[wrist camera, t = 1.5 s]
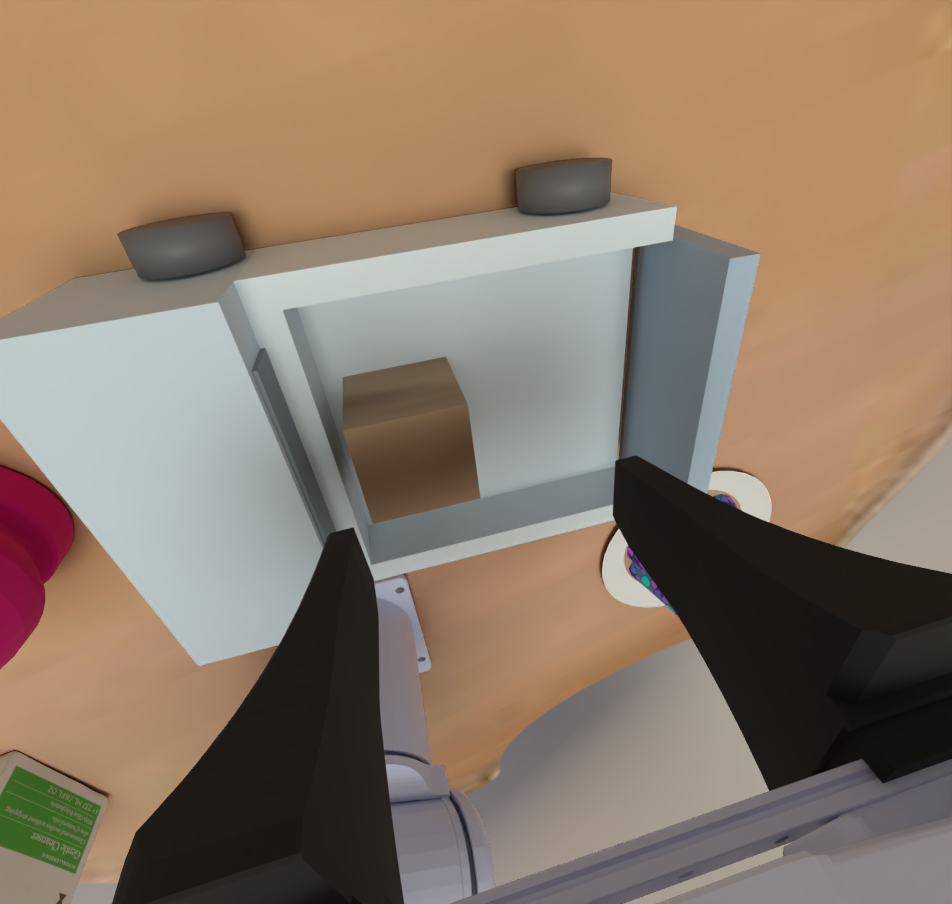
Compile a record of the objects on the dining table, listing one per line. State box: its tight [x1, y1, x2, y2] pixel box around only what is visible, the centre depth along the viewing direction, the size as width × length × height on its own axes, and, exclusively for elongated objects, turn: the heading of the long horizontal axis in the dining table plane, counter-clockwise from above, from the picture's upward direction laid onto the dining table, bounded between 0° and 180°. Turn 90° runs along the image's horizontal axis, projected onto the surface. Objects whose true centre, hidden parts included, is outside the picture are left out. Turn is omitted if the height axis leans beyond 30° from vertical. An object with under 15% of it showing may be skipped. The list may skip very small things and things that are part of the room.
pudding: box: [602, 471, 771, 616], centre depth 30 cm, size 12×12×5 cm
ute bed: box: [0, 158, 677, 666], centre depth 18 cm, size 16×19×6 cm
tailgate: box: [619, 225, 760, 494], centre depth 19 cm, size 11×6×1 cm
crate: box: [343, 357, 481, 524], centre depth 18 cm, size 4×4×4 cm
